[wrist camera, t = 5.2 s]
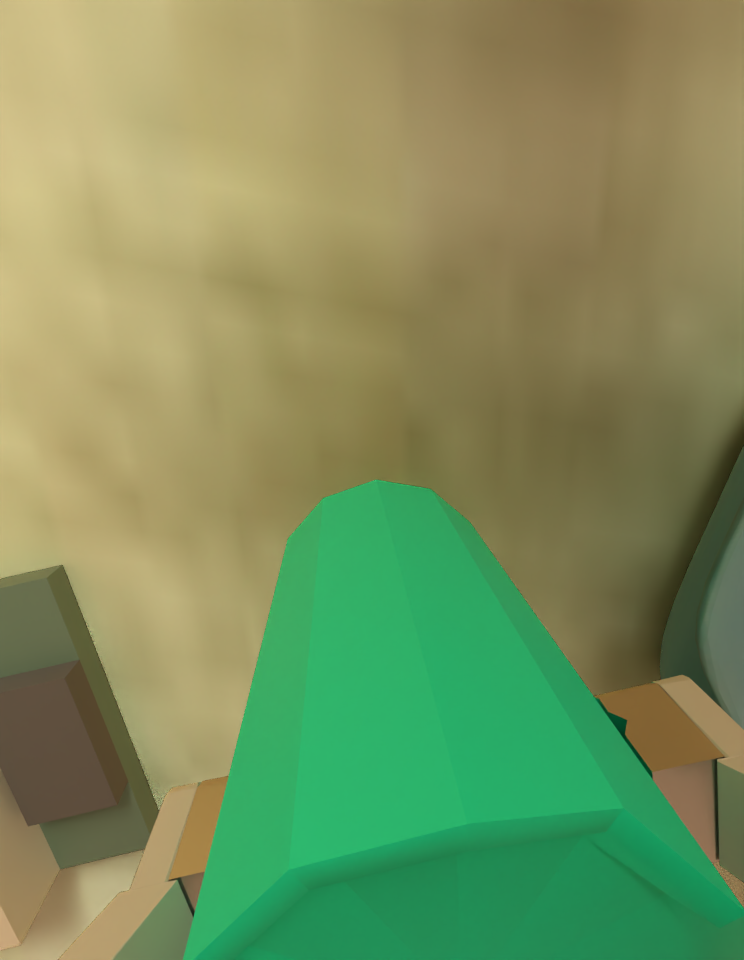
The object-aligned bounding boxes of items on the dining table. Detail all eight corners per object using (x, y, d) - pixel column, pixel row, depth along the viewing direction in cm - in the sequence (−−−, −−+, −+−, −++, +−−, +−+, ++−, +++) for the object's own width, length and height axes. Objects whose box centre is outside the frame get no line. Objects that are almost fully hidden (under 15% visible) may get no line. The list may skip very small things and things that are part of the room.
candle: (426, 693, 16) (641, 1568, 5) (246, 625, 15) (-41, 1529, 4) (521, 530, 15) (1138, 1184, 3) (332, 443, 14) (307, 960, 2)
